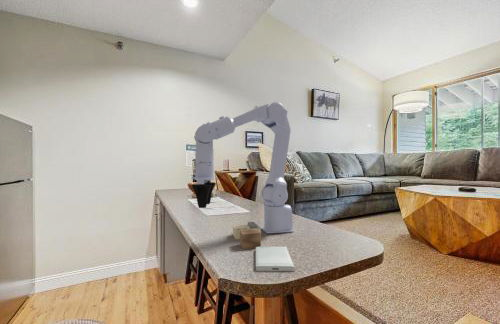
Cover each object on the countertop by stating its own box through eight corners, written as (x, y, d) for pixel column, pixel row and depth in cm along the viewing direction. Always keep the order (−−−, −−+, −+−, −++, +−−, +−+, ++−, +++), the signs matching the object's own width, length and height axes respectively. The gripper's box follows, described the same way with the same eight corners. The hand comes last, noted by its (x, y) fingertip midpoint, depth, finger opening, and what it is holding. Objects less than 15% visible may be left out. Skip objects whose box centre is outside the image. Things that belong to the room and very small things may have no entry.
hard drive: (255, 246, 61) (255, 265, 48) (286, 246, 61) (295, 265, 48) (255, 252, 61) (255, 273, 48) (286, 252, 61) (295, 273, 48)
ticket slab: (256, 233, 77) (256, 221, 77) (261, 237, 72) (261, 225, 72) (232, 234, 75) (232, 223, 76) (235, 239, 70) (235, 227, 70)
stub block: (256, 243, 67) (256, 229, 67) (260, 247, 63) (260, 232, 63) (240, 244, 66) (240, 230, 66) (242, 249, 62) (242, 233, 62)
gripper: (196, 164, 81) (196, 202, 81) (186, 162, 67) (186, 209, 66) (216, 163, 81) (216, 202, 81) (210, 162, 67) (210, 209, 66)
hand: (204, 205), depth 74 cm, fingers open, 7 cm apart
